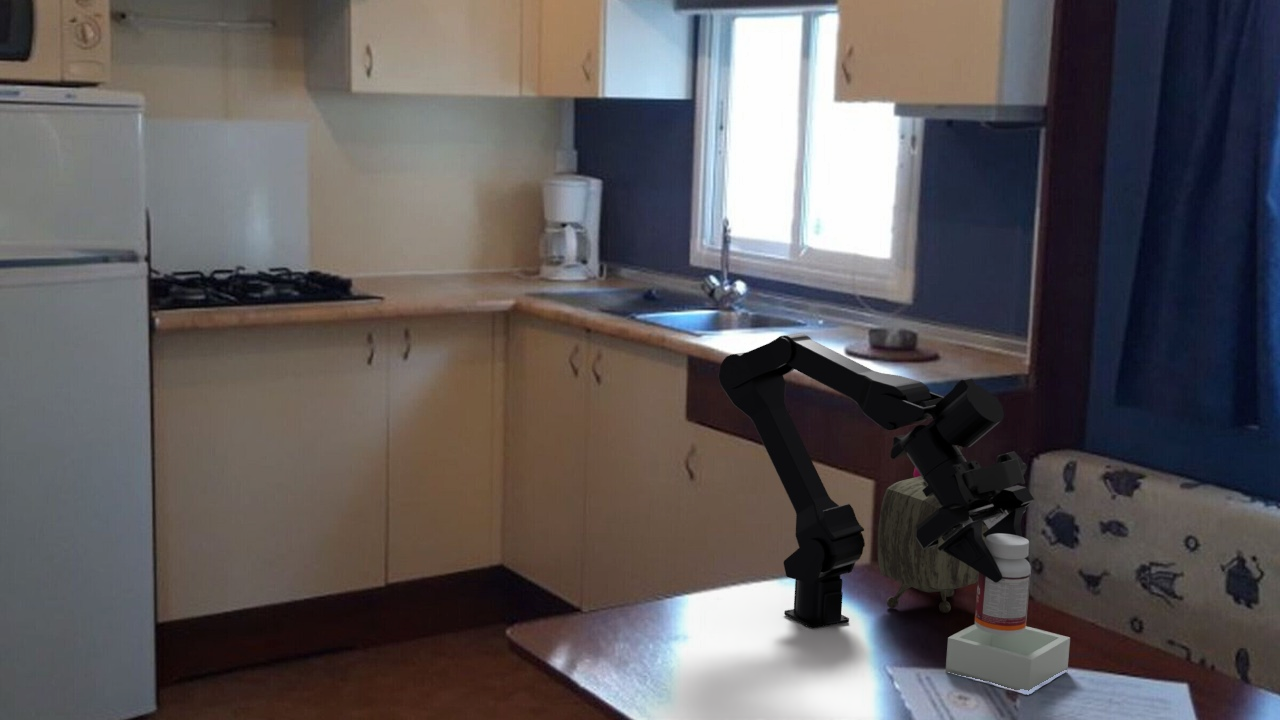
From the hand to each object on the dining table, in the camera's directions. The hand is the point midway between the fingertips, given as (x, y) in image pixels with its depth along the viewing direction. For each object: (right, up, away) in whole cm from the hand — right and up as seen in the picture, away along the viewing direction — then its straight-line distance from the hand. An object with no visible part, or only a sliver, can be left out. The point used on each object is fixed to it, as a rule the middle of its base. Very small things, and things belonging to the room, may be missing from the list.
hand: (1013, 575), depth 189 cm
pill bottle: (-1, -7, +2) cm, 7 cm away
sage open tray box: (0, -13, +5) cm, 14 cm away
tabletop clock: (-4, -9, +28) cm, 30 cm away
